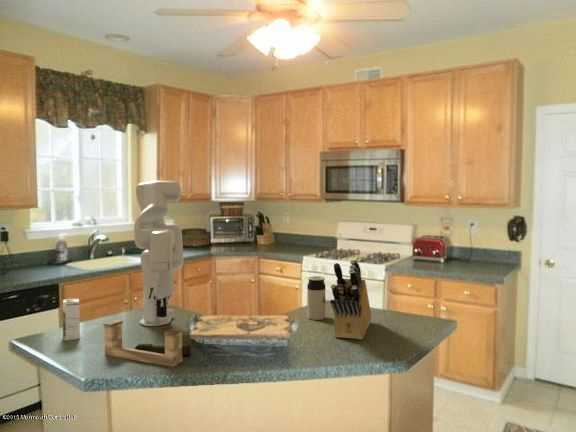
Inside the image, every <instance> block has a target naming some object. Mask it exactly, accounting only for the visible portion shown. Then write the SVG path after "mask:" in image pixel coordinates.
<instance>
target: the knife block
mask: <svg viewBox="0 0 576 432" xmlns="http://www.w3.org/2000/svg"><path fill="white" fill-rule="evenodd" d="M349 264H351V265H350V266H349V270H348V273H349V278H344V277H343V271H342V270H343V269H342V268H341V265H340V264H339V263H337V262H336V263H333V270H334V274H335V277H336V278H337V279H336V284H331V285H330V289H331V290H332V296H333V299H330V300H329V301H330V305H331V307H332V311H333V317H334V318H333V319H334V320H333V321H334V322H333V323H334V325H333V326H334V327H333V328H334V337H335V338H337V339H338V338H340V339H341V338H344V339H354V340H355V339H356V340H363V339H364V337H365V335H366V333H367V330H368V328H369V327H370V324H371V322H372V313H371V307H370V299H369V294H368V288H367V283H366V279H362V272H361V267H360V264H359V262H358V261H357V260H356V259H351V260H350V263H349Z"/></svg>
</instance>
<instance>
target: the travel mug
mask: <svg viewBox="0 0 576 432" xmlns="http://www.w3.org/2000/svg"><path fill="white" fill-rule="evenodd" d="M307 279H308V282H307V286H306V289H307V290H306V293H307V294H306V295H307V300H306V301H307V303H306V304H307V305H306V306H307V307H306V308H307V309H306V316H307V319H309V320H311V319H312V320H311V321H322V320H325V319H326V283H325V279H326V278H325V277H324V276H319V275H314V276H308V277H307Z"/></svg>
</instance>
